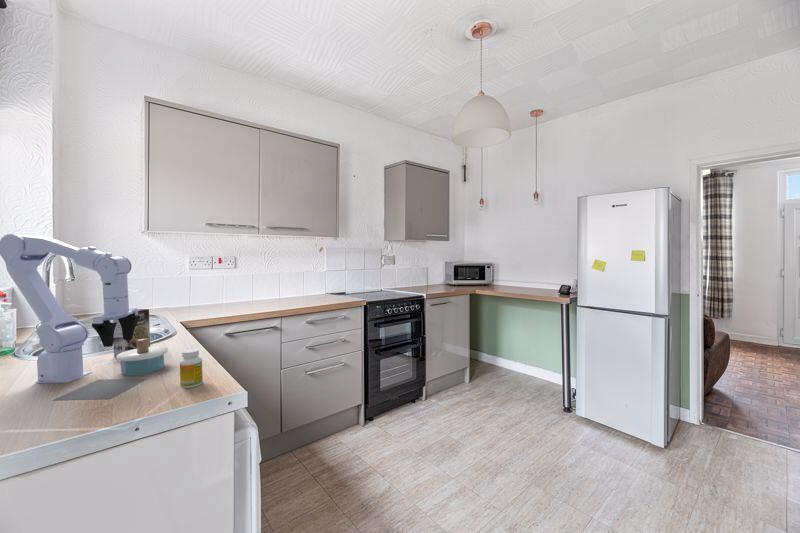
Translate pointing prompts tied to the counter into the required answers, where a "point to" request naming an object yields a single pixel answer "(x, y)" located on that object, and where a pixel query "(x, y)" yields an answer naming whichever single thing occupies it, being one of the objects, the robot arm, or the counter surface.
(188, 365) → the supplement bottle
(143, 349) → the lid
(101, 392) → the mat
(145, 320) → the coffee box
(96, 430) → the counter surface
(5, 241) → the robot arm
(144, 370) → the bowl
